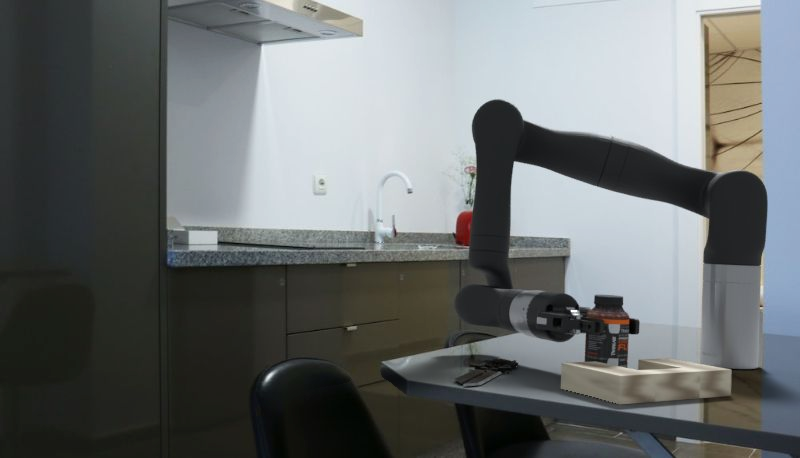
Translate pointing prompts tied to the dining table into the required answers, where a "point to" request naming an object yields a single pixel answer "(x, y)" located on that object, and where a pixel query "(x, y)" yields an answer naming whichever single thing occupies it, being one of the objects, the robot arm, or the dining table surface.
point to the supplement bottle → (609, 332)
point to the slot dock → (646, 381)
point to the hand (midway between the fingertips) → (620, 327)
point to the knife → (480, 371)
